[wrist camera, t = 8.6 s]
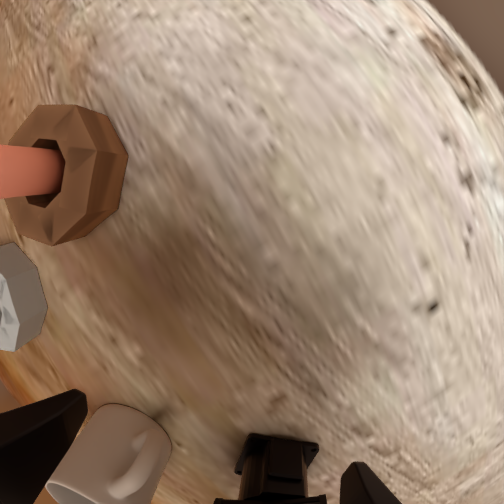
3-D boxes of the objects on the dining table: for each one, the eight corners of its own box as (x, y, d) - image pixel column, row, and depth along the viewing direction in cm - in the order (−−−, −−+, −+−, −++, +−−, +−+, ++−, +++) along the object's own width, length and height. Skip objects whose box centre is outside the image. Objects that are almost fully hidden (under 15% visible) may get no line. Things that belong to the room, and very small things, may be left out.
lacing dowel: (86, 195, 19) (-5, 205, 11) (59, 188, 19) (-30, 196, 11) (94, 154, 19) (2, 145, 10) (65, 150, 19) (-23, 143, 10)
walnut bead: (113, 244, 20) (81, 256, 16) (31, 219, 20) (-1, 226, 16) (137, 118, 18) (108, 106, 14) (49, 113, 18) (17, 105, 14)
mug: (145, 467, 25) (112, 539, 14) (85, 420, 24) (35, 486, 14) (212, 431, 23) (184, 532, 12) (136, 371, 22) (70, 462, 11)
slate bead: (56, 334, 22) (31, 353, 18) (6, 332, 23) (-17, 346, 19) (30, 237, 20) (-2, 246, 17) (-16, 251, 21) (-43, 259, 18)
